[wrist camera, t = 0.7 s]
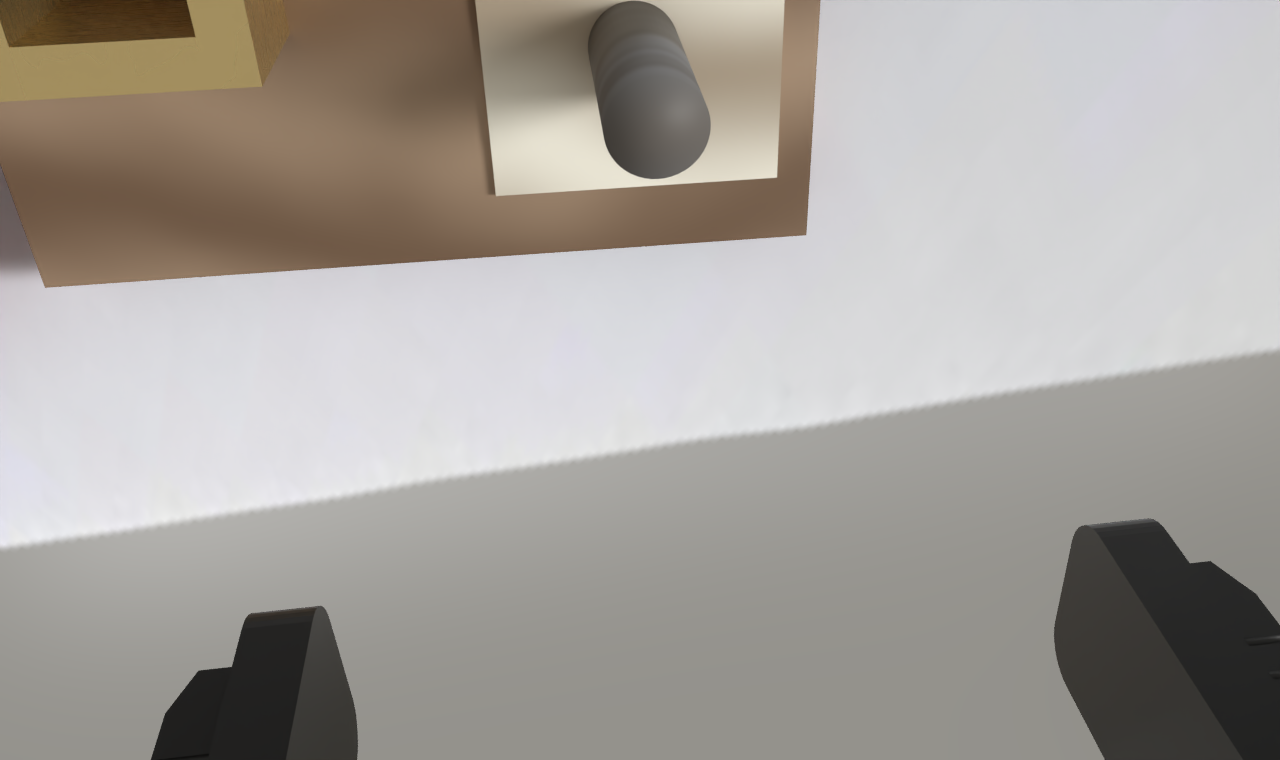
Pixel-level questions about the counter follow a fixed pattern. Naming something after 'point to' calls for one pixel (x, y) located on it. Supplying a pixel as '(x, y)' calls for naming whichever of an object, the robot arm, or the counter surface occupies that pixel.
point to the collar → (136, 46)
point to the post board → (434, 141)
